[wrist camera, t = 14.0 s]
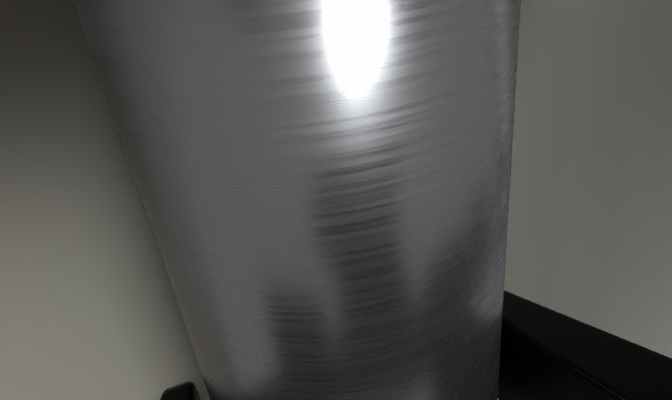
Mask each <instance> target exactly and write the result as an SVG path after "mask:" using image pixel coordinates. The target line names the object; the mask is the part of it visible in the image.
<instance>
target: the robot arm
mask: <svg viewBox="0 0 672 400" xmlns="http://www.w3.org/2000/svg"><path fill="white" fill-rule="evenodd" d="M498 399H499V400H672V358H669V357H667V356H664V355H662V354H659V353H657V352H654V351H652V350H649V349H647V348H644V347H642V346H640V345H637V344H635V343H632V342H630V341H627V340H625V339H622V338H620V337H617V336H615V335H612V334H610V333H608V332H605V331H603V330H600V329H598V328H595V327H593V326H590V325H588V324H585V323H583V322H580V321H578V320H576V319H573V318H571V317H568V316H566V315H563V314H561V313H558V312H556V311H553V310H551V309H548V308H546V307H544V306H541V305H539V304H536V303H534V302H531V301H529V300H526V299H524V298H521V297H519V296H516V295H514V294H512V293H509V292H507V291H504V295H503V312H502V329H501V346H500V363H499V380H498ZM160 400H200V397H199V394H198V391H197V389H196V386H195V384H194V383H192V382H186V383H183V384H180V385H177V386H174V387H171V388H168V389H166V390H165V391H164V392H163V394H162V396H161V398H160Z"/></svg>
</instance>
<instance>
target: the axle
mask: <svg viewBox="0 0 672 400" xmlns="http://www.w3.org/2000/svg"><path fill="white" fill-rule="evenodd" d="M73 1H74V4H75V7H76V10H77V13H78V16H79V19H80V22H81V25H82V28H83V30H84V33H85V36H86V39H87V42H88V45H89V48H90V51H91V54H92V57H93V59H94V62H95V65H96V68H97V71H98V74H99V77H100V80H101V83H102V86H103V88H104V91H105V94H106V97H107V100H108V103H109V106H110V109H111V112H112V115H113V117H114V120H115V123H116V126H117V129H118V132H119V135H120V138H121V141H122V144H123V147H124V149H125V152H126V155H127V158H128V161H129V164H130V167H131V170H132V173H133V176H134V178H135V181H136V184H137V187H138V190H139V193H140V196H141V199H142V202H143V205H144V207H145V210H146V213H147V216H148V219H149V222H150V225H151V228H152V231H153V234H154V236H155V239H156V242H157V245H158V248H159V251H160V254H161V257H162V260H163V263H164V266H165V268H166V271H167V274H168V277H169V280H170V283H171V286H172V289H173V292H174V295H175V297H176V300H177V303H178V306H179V309H180V312H181V315H182V318H183V321H184V324H185V326H186V329H187V332H188V335H189V338H190V341H191V344H192V347H193V350H194V353H195V355H196V358H197V361H198V364H199V367H200V370H201V373H202V376H203V379H204V382H205V385H206V387H207V390H208V393H209V396H210V399H211V400H497V397H498V380H499V363H500V346H501V329H502V312H503V295H504V278H505V261H506V244H507V227H508V210H509V193H510V176H511V159H512V142H513V125H514V108H515V91H516V74H517V57H518V40H519V23H520V7H521V0H73Z"/></svg>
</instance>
